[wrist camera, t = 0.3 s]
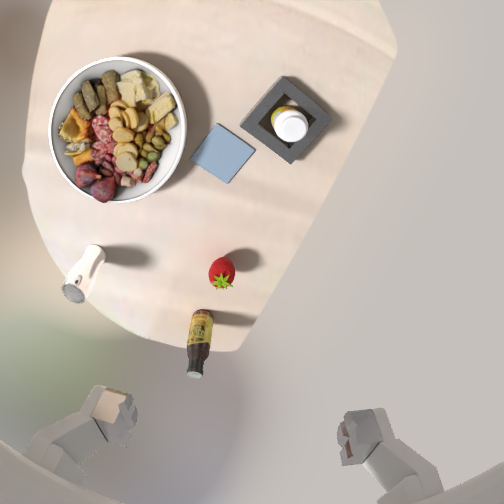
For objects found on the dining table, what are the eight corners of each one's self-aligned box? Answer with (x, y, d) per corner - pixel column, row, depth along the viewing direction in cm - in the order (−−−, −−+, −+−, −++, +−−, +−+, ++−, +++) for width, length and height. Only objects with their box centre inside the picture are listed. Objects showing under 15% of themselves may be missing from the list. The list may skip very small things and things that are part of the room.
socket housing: (280, 76, 43) (282, 76, 41) (328, 116, 48) (332, 119, 46) (239, 123, 49) (239, 126, 46) (288, 159, 54) (290, 164, 51)
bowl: (69, 56, 36) (47, 58, 30) (207, 66, 42) (201, 65, 36) (60, 183, 53) (42, 198, 47) (176, 205, 59) (168, 223, 53)
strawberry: (238, 249, 66) (238, 277, 58) (231, 272, 71) (230, 302, 63) (214, 244, 65) (210, 272, 57) (208, 268, 69) (204, 297, 61)
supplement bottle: (305, 115, 48) (318, 125, 40) (288, 137, 51) (298, 152, 43) (280, 99, 46) (289, 105, 38) (264, 122, 49) (269, 134, 41)
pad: (216, 123, 49) (216, 123, 48) (254, 149, 52) (254, 150, 52) (190, 159, 53) (190, 159, 52) (227, 183, 56) (227, 183, 56)
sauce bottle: (206, 306, 78) (200, 367, 62) (217, 319, 81) (213, 378, 65) (187, 312, 79) (178, 371, 63) (198, 324, 83) (192, 382, 67)
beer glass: (112, 261, 67) (91, 302, 55) (93, 266, 68) (72, 306, 56) (99, 239, 63) (74, 280, 51) (80, 246, 64) (55, 285, 52)
